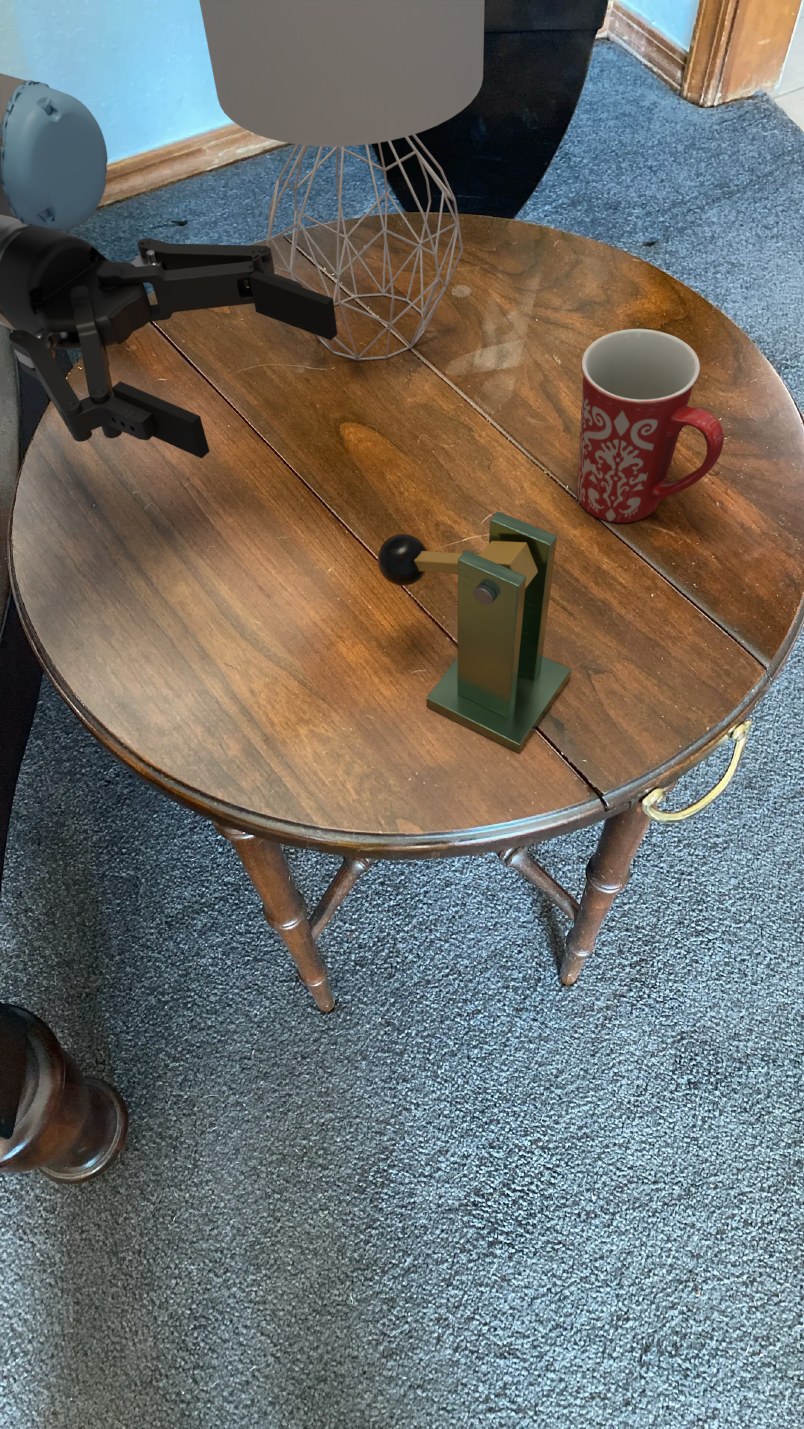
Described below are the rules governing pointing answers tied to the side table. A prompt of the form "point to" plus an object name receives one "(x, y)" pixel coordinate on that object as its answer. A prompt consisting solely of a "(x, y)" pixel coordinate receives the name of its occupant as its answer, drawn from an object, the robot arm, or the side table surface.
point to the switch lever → (445, 559)
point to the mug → (637, 422)
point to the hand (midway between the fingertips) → (270, 375)
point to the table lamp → (349, 99)
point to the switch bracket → (502, 642)
